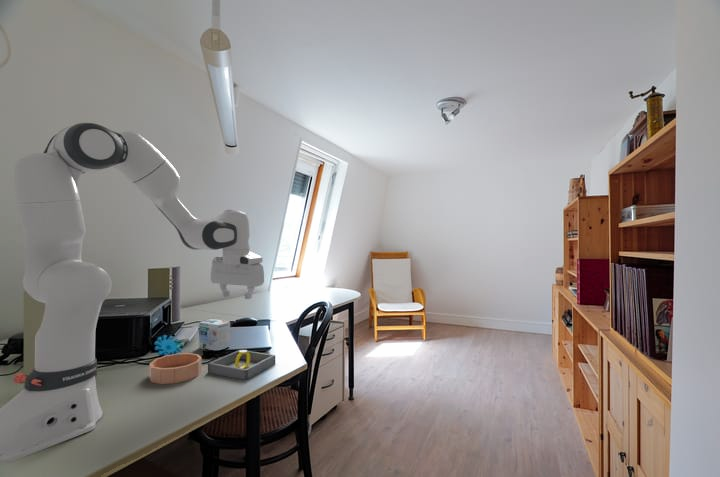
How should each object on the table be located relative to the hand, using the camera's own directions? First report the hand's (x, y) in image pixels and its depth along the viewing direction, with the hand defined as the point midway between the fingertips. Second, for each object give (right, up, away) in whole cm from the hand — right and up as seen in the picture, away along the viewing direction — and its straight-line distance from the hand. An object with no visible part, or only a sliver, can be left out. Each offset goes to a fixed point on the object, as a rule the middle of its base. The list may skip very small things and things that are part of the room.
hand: (237, 297), depth 121 cm
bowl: (-18, -24, -7) cm, 30 cm away
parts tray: (+2, -24, 0) cm, 24 cm away
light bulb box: (-16, -24, +21) cm, 36 cm away
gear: (-29, -24, +11) cm, 39 cm away
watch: (+2, -24, 0) cm, 24 cm away
